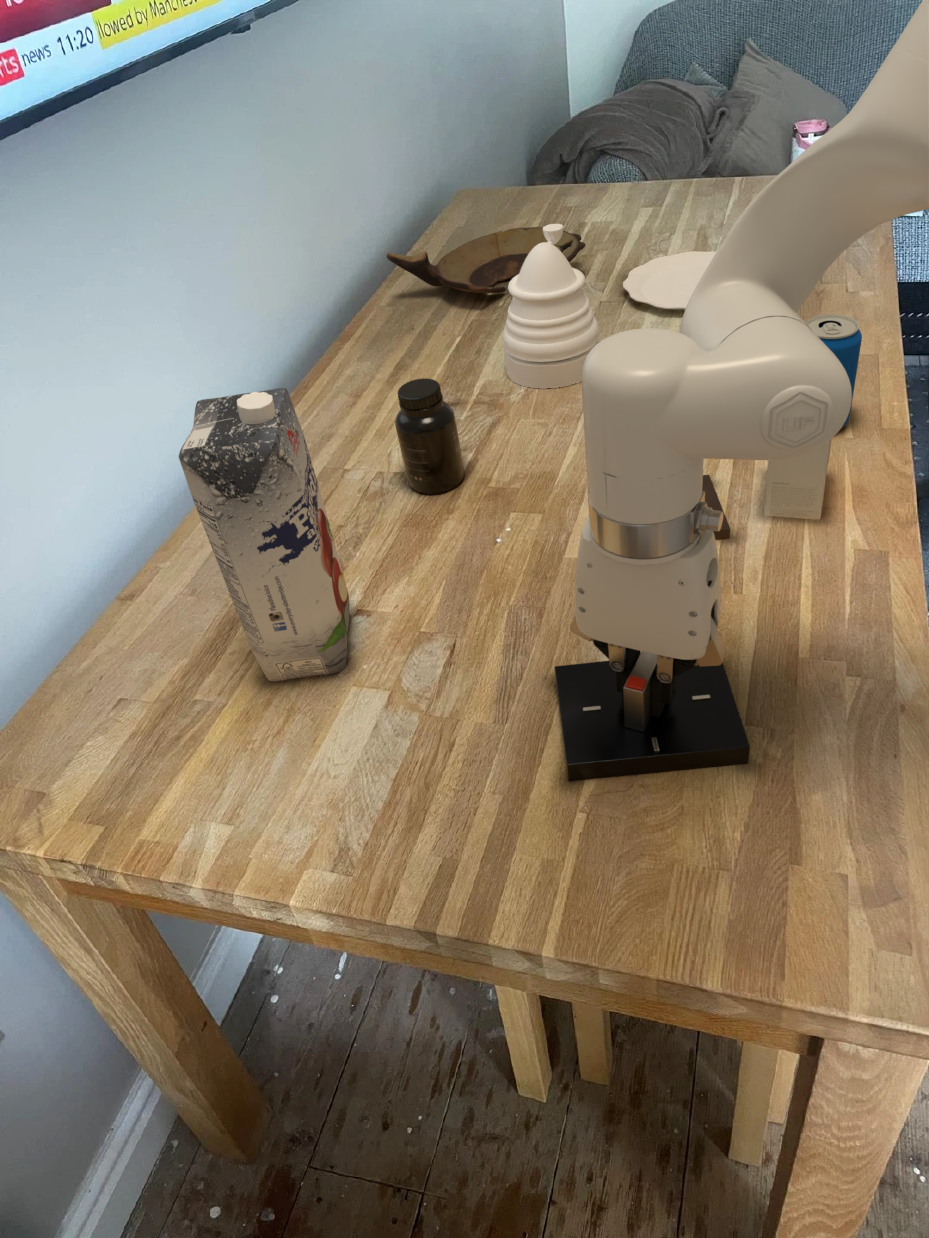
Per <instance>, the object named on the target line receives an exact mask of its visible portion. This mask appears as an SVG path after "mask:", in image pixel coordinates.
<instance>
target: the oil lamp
mask: <svg viewBox="0 0 929 1238" xmlns="http://www.w3.org/2000/svg"><path fill="white" fill-rule="evenodd" d="M543 227H544V226H543ZM543 227H541V226H536V227H535V226H530V227H515V228H510V229H509V228H508V229H507V230H504V231H503V230H502V231H501V230H500V231H496V232H492V233H489V234H486V235H482V236H479V237H477V238H475V239H473V240H470V241H467V242H465V243H463V244H462V245H460V246H458V247H456V248H454V249H452V250H451V251H449V252H447V253H446V254H445V255H444V256H443V257H441V259H440V260H439V261H438V263H437V264H436V265H434V264H432V263H431V262H430V259H429V255H428V252H427V251H425V250H424V251H422V252H420V253H417V254H414V255H404V254H398V253H394V252H388V253H387V254H386V258H387V260H388V261H389V262H391V263H392V264H394V265H396V266H398V267H399V268H400V269H402V270H404V271H406V272H407V273H410V274H412V275H413V276H414V277H417V278H418V279H420V280H421V281H422V282H423V283H425V284H428V285H429V286H431V287H436V288H437V287H444V286H448V287H450V288H451V289H455V290H459V291H463V292H469V293H477V294H500V293H504V292H506V291H507V289H506V288H505V286H496V287H495V285H496V284H497V283H500V282H504V281H507V280H512V278H513V277H515V276H516V275H518V274H519V273H520V270H521V268H522V265H523V263H524V261H525V259H526V257H527V256H528V254H529V253H530V251H531V250H532V249H533V248H534V247H535V246H536V245H538V244H540V243H543V242H548V241H547V240H546V238H545V236H544V233H543ZM581 240H582V236H581V234H578V233H571V232H569V231H566V230H563V234H562V237H561V239H560V240H559V241H558V242H557V243H556V244H554V246H555V247H557V248H558V249H559V250H560V251H561V252H562V253H563V255H564V256H565V257H566V259H567V260H568V262H569V263H570V262H572V261H573V260H574V259H575V258H576V257H577V255H578V253H579V252H580V251H582V250H583V249H584V248H585V247H586V243H585V242H583V241H581Z"/></svg>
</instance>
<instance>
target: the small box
mask: <svg viewBox="0 0 929 1238" xmlns="http://www.w3.org/2000/svg"><path fill="white" fill-rule="evenodd" d="M831 447H832V438H831V439H830V440H829V441H828V442H827V443H825V444H824V445H822V446H821V447H819V448H817V449H815V450H813V451H811V452H809V453H806V454H803V455H800V456H796V457H792V458H786V459H778V460H767V470H766V471H767V473H766V474H767V475H766V484H765V496H764V497H765V498H764V505H763V506H764V508H763V515H764V517H765V516H766V517H779V518H788V519H789V518H792V519H805V520H818V521H819V520H821V518H822V512H823V511H822V510H823V503H824V496H825V489H826V482H827V476H828V475H827V474H828V467H829V461H830V453H831Z"/></svg>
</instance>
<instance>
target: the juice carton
mask: <svg viewBox="0 0 929 1238" xmlns="http://www.w3.org/2000/svg"><path fill="white" fill-rule="evenodd" d="M178 459H179V463H180V465H181V467H182V468H181V469H182V471H183V475H184V477H185V481H186V484H187V486H188V490H189V493H190V495H191V497H192V500H193V503H194V506H195V508H196V511H197V514H198V516H199V519H200V521H201V524H202V527H203V529H204V532H205V534H206V537H207V539H208V542H209V544H210V547H211V549H212V552H213V555H214V557H215V560H216V562H217V565H218V567H219V570H220V572H221V576H222V578H223V580H224V583H225V585H226V588H227V590H228V594H229V596H230V598H231V601H232V604H233V606H234V608H235V612H236V614H237V616H238V619H239V621H240V624H241V627H242V629H243V632H244V635H245V636H246V639H247V641H248V644H249V646H250V649H251V651H252V654H253V655H254V658H255V659H256V662H257V664H258V665H259V667H260V669H261V670H262V672H263V674H264V676H265V678H266V679H267V680H268V681H270V682H281V681H286V680H293V679H299V678H306V677H314V676H315V677H316V676H325V675H334V674H339V673H342V672H343V671H345V669H346V667H347V661H348V660H347V659H348V633H349V626H350V594H349V591H348V587H347V586H348V585H347V583H346V579H345V575H344V572H343V569H342V568H343V567H342V565H341V561H340V557H339V553H338V551H337V550H338V549H337V547H336V543H335V539H334V536H333V532H332V529H331V525H330V522H329V519H328V514H327V511H326V507H325V505H324V501H323V498H322V494H321V490H320V487H319V483H318V479H317V475H316V472H315V469H314V465H313V462H312V459H311V455H310V452H309V448H308V444H307V441H306V438H305V435H304V432H303V429H302V426H301V423H300V420H299V418H298V416H297V413H296V410H295V407H294V404H293V402H292V399H291V396H290V393H289V391H288V389H287V387H278V388H273V389H272V388H271V389H267V390H262V391H252V392H245V393H238V394H233V395H227V396H221V397H214V398H213V397H211V398H204V399H200V400H196V403H195V408H194V415H193V425H192V429H191V431H190V433H189V434H188V436H187V438H186V439H185V441H184V443H183V444H182V446H181V447H180V450H179V453H178Z"/></svg>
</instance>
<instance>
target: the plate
mask: <svg viewBox="0 0 929 1238" xmlns="http://www.w3.org/2000/svg"><path fill="white" fill-rule="evenodd" d="M717 251H718V250H716V251H701V250H700V251H698V250H694V251H684V252H680V253H679V252H678V253H675V254H671V255H665V256H664V255H663V256H659V257H655V258H652V259H650V260H648V261H647V262H645V263H643V264H641V265H639V266H636V267H634V268H632V269H631V270H630V271H628V274H627V277H626V279H625V280H624V281H622V288H623V290H625V291H626V292H627V293H628V294H629V297H630V299H632V300H633V301H636V302H637V303H642V304H647V305H650V306H652V307H653V308H654V307H655V308H657V309H662V310H671V311H683V312H685V309H686V306H687V304H688V302H689V300H690V298H691V296H692V294H693V292H694V290H695V288H696V286H697V284H698V283H699V281H700V279H701V277H702V276H703V274H704V272H705V271H706V269H707V267H708V266H709V264H710V262H711V261H712V259H713V257H714V256H715V254H716V252H717Z"/></svg>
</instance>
